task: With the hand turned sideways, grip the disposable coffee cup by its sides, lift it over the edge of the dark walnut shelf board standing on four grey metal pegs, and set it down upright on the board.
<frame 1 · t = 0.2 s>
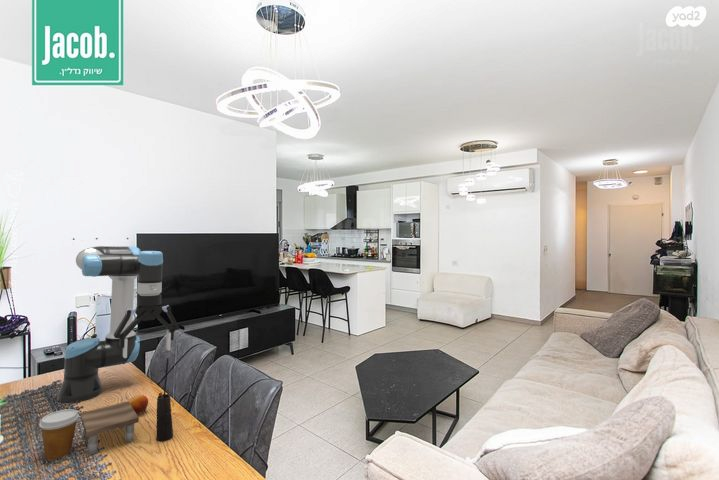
hand: (147, 353, 125), 28 cm above the table, tool pointing down, fingers open, 13 cm apart
fruit: (136, 414, 136), on the table
butter churn: (162, 437, 121), on the table
disposable coffee cup: (58, 454, 110), on the table
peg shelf: (108, 438, 119), on the table
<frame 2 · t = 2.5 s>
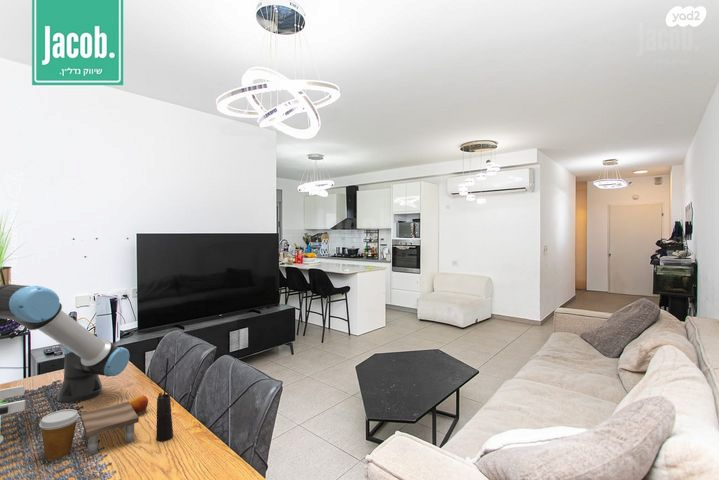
hand: (24, 397, 104), 20 cm above the table, tool horizontal, fingers open, 13 cm apart
nothing on the table moved.
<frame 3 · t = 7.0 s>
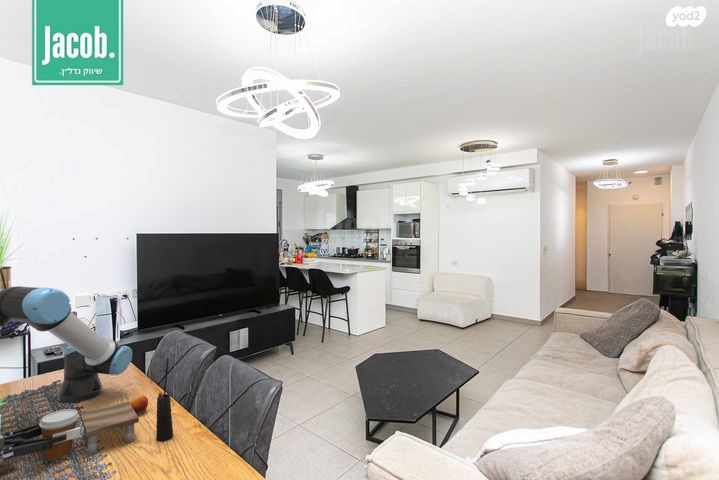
hand: (78, 426, 113), 7 cm above the table, tool horizontal, fingers closed on disposable coffee cup, 8 cm apart
disposable coffee cup: (58, 454, 110), on the table, touching gripper
everything else where it was.
when the fingers open (16 cm above the table, at t = 11.8 s): disposable coffee cup drops 1 cm, resting on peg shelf.
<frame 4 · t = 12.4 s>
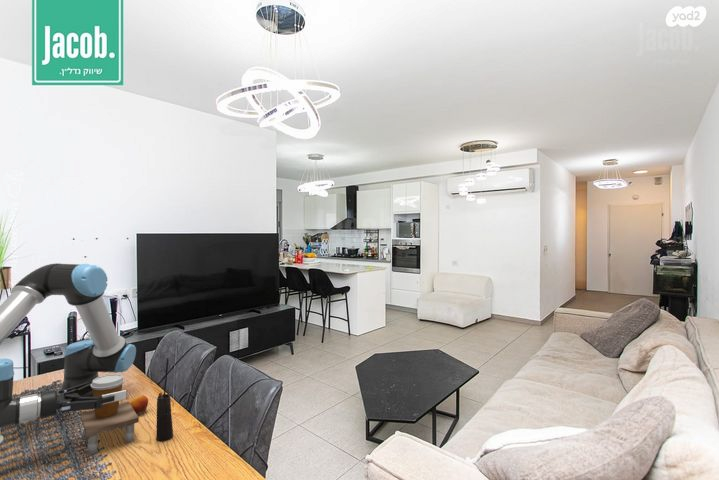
hand: (121, 387, 121), 16 cm above the table, tool horizontal, fingers open, 13 cm apart
disposable coffee cup: (106, 414, 120), point 8 cm above the table, touching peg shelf
everything else where it was.
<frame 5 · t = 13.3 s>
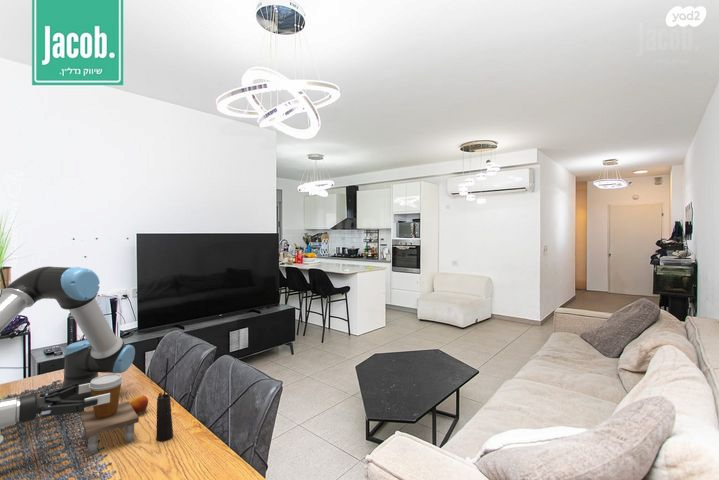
hand: (106, 390, 118), 17 cm above the table, tool horizontal, fingers open, 13 cm apart
disposable coffee cup: (106, 413, 120), point 8 cm above the table, touching gripper, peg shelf
everything else where it was.
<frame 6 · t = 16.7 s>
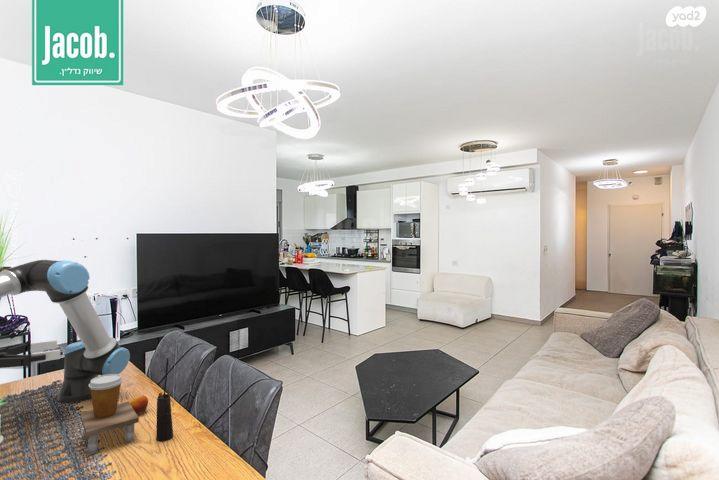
hand: (58, 348, 113), 32 cm above the table, tool horizontal, fingers open, 13 cm apart
disposable coffee cup: (105, 413, 120), point 8 cm above the table, touching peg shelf
everything else where it was.
at the end: disposable coffee cup inside the target area on the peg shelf (2.5 cm from its centre), point 7.9 cm above the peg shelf's base; disposable coffee cup tilted 1°; the gripper is holding nothing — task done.
